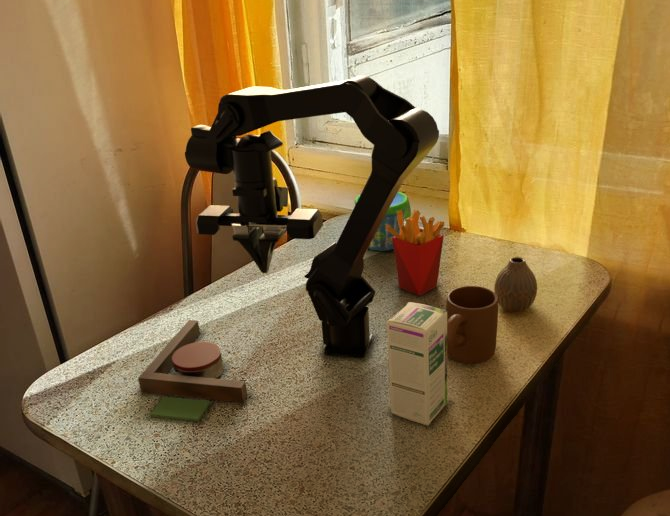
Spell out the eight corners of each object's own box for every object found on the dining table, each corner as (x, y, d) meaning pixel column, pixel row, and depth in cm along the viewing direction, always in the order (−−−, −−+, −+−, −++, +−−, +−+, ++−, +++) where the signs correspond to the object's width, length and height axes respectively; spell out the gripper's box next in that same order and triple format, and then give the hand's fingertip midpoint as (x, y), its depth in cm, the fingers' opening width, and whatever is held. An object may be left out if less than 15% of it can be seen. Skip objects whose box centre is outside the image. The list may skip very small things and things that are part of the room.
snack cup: (369, 264, 130) (367, 215, 126) (337, 248, 138) (334, 201, 133) (427, 241, 139) (427, 194, 134) (393, 227, 146) (392, 183, 142)
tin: (231, 360, 102) (228, 342, 101) (213, 388, 96) (209, 369, 95) (187, 357, 104) (184, 339, 102) (167, 384, 97) (163, 365, 96)
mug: (471, 386, 94) (473, 328, 89) (422, 371, 97) (422, 315, 93) (503, 345, 102) (506, 291, 98) (457, 333, 106) (459, 280, 102)
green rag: (210, 403, 93) (210, 401, 93) (198, 421, 89) (198, 419, 89) (164, 398, 94) (164, 396, 94) (150, 416, 91) (150, 414, 91)
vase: (489, 313, 111) (491, 266, 107) (498, 295, 117) (500, 249, 113) (531, 319, 109) (535, 271, 105) (538, 300, 115) (542, 254, 110)
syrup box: (428, 427, 86) (428, 330, 79) (388, 413, 89) (385, 319, 82) (447, 403, 90) (449, 309, 84) (409, 391, 93) (408, 299, 87)
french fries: (416, 275, 125) (415, 199, 118) (451, 288, 120) (452, 209, 113) (383, 291, 120) (381, 213, 113) (419, 306, 115) (418, 224, 108)
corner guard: (281, 340, 107) (280, 326, 106) (243, 402, 93) (241, 388, 91) (191, 332, 110) (188, 319, 109) (141, 392, 96) (137, 377, 95)
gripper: (328, 162, 104) (334, 254, 111) (216, 159, 108) (230, 248, 115) (308, 185, 94) (316, 284, 102) (186, 182, 98) (202, 277, 106)
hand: (265, 271), depth 106 cm, fingers closed
